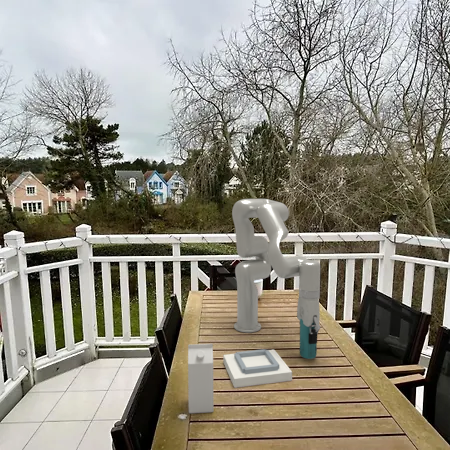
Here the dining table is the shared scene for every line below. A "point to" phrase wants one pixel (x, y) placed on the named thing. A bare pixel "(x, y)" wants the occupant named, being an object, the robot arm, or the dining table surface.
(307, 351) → the beverage bottle
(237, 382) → the display stand
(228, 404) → the dining table surface
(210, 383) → the milk carton
